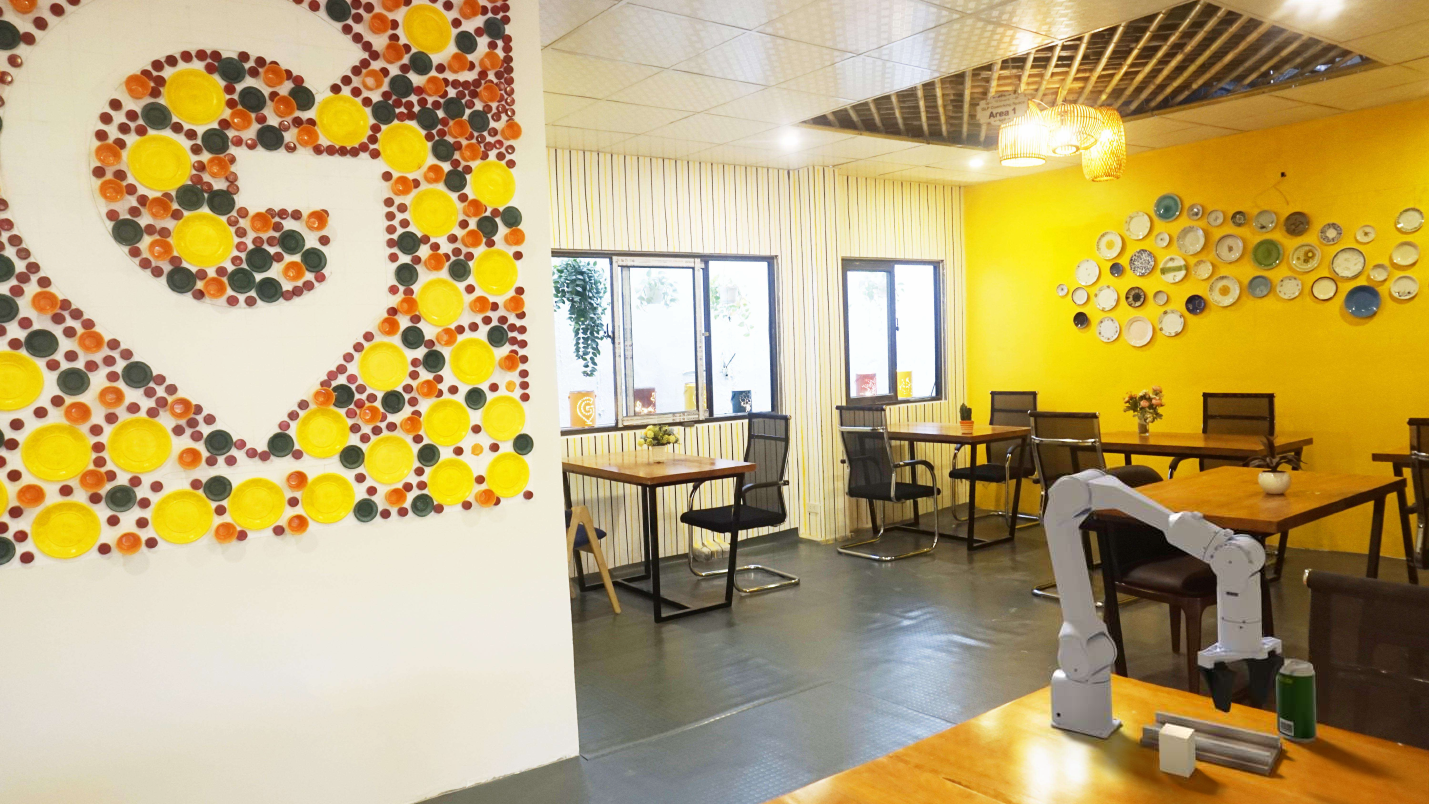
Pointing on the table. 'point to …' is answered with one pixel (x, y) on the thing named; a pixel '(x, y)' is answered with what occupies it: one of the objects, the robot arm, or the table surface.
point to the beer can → (1296, 701)
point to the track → (1221, 742)
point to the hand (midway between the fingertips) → (1241, 705)
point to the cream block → (1177, 750)
